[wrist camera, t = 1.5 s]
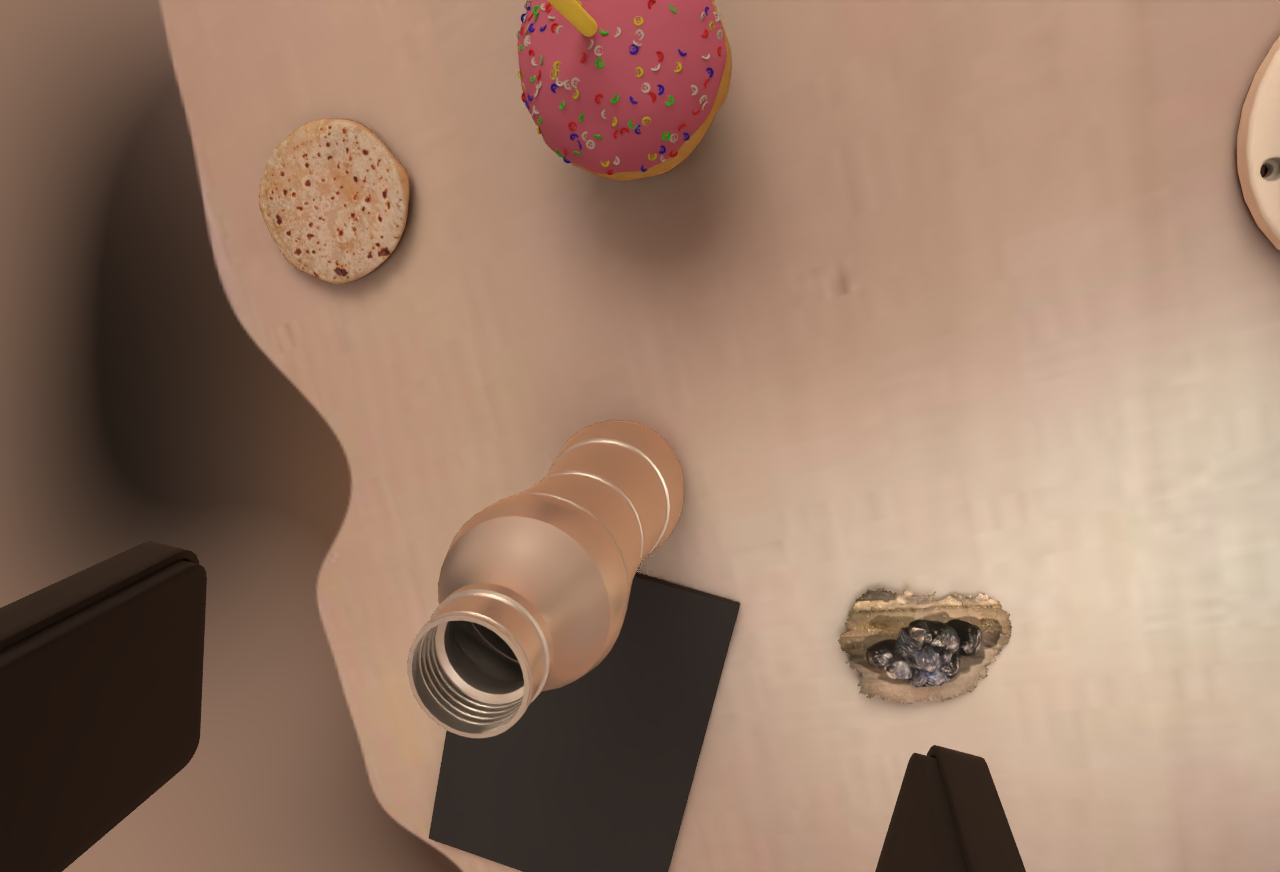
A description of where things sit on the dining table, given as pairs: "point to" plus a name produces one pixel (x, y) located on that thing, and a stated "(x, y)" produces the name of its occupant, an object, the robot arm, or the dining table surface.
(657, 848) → the mat
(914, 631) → the mineral rock
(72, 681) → the robot arm
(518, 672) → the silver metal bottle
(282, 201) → the flatbread
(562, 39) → the cupcake
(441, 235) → the dining table surface
